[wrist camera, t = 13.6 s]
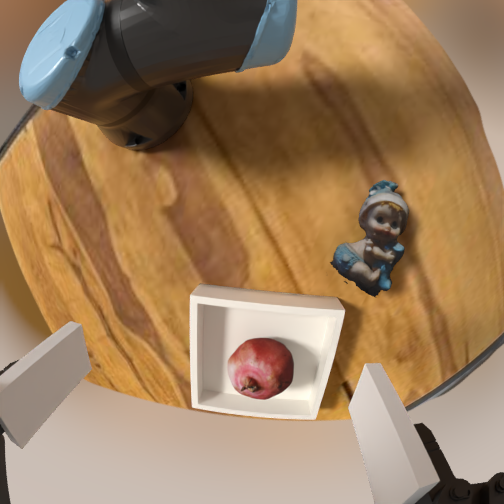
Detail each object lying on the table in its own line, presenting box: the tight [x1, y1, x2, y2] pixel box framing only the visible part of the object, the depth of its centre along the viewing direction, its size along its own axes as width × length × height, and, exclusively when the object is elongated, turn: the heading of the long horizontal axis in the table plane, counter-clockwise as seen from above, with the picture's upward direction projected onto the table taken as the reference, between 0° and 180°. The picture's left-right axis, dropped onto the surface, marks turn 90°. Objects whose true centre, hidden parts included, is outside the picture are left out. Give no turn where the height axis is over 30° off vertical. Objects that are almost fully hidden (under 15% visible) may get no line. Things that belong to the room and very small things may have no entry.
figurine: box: [330, 180, 409, 298], centre depth 32 cm, size 9×8×15 cm
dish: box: [190, 284, 345, 419], centre depth 38 cm, size 20×20×5 cm
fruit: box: [227, 338, 294, 400], centre depth 35 cm, size 9×10×10 cm
